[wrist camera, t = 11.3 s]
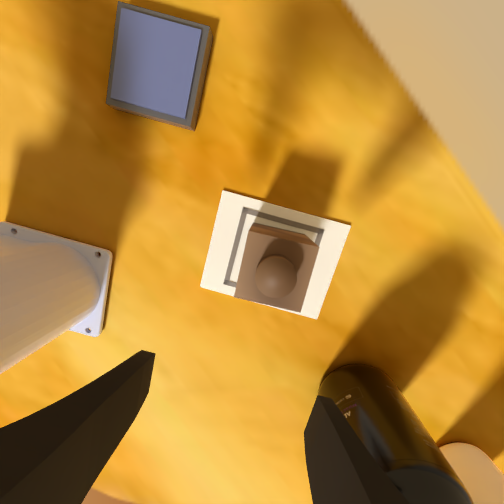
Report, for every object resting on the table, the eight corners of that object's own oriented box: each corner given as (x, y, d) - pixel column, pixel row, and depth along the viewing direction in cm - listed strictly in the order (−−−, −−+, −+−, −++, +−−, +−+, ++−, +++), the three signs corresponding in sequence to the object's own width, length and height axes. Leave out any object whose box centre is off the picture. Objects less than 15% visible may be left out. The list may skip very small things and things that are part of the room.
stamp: (242, 271, 19) (231, 304, 13) (253, 222, 18) (246, 233, 12) (291, 282, 19) (303, 321, 13) (304, 233, 18) (323, 250, 12)
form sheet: (200, 286, 20) (199, 287, 20) (223, 190, 18) (222, 190, 18) (316, 318, 20) (317, 319, 20) (350, 225, 18) (351, 225, 18)
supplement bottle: (311, 364, 21) (369, 577, 9) (392, 356, 20) (569, 573, 8) (319, 429, 22) (379, 687, 10) (396, 423, 21) (552, 690, 10)
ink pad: (114, 109, 17) (103, 102, 16) (127, 13, 16) (116, -2, 15) (194, 131, 17) (189, 125, 16) (213, 37, 16) (208, 24, 15)
